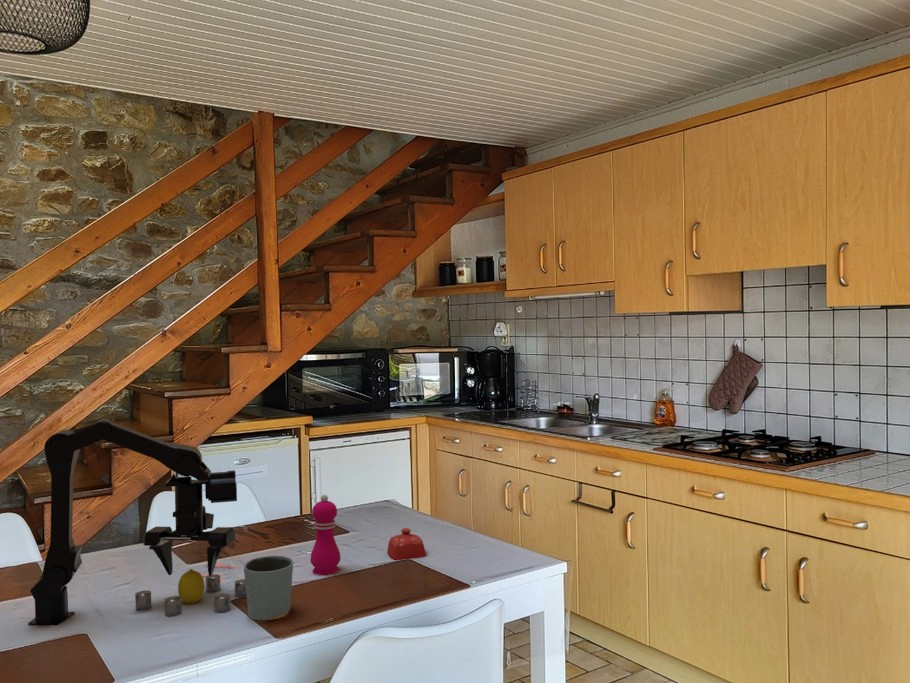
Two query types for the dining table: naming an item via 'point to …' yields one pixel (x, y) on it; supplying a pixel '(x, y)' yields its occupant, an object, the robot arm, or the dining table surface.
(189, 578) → the lemon
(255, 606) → the grey ceramic cup
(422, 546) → the butter dish
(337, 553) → the pepper mill
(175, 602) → the spacers
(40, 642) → the dining table surface
